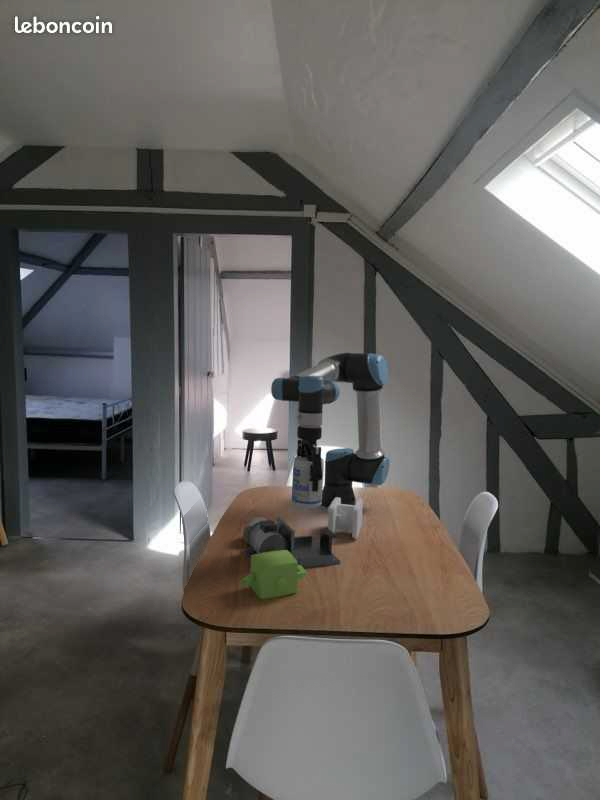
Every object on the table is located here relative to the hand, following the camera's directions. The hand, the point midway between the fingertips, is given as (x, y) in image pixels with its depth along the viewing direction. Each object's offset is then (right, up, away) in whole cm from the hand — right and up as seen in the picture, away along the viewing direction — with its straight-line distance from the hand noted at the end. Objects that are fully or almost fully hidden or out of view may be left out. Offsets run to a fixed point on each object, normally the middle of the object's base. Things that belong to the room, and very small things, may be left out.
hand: (307, 496), depth 173 cm
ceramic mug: (-16, -18, +12) cm, 27 cm away
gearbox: (-10, -22, -24) cm, 34 cm away
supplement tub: (0, -3, 0) cm, 3 cm away
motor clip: (-5, -19, +1) cm, 20 cm away
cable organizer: (+14, -18, +24) cm, 32 cm away
